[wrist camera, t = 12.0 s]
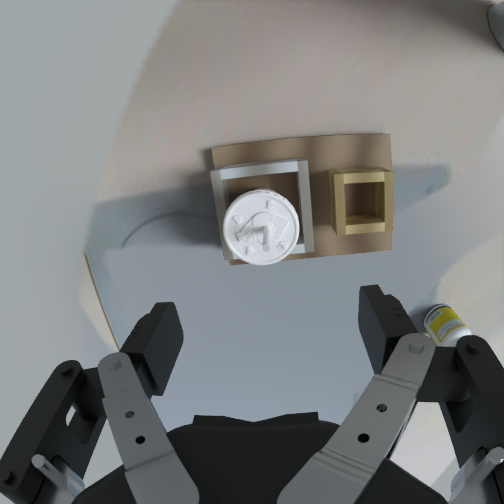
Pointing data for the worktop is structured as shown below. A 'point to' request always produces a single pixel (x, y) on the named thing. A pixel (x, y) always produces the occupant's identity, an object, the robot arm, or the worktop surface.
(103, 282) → the worktop surface
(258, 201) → the smoothie
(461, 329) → the supplement bottle
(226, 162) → the fitting board
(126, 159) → the worktop surface
